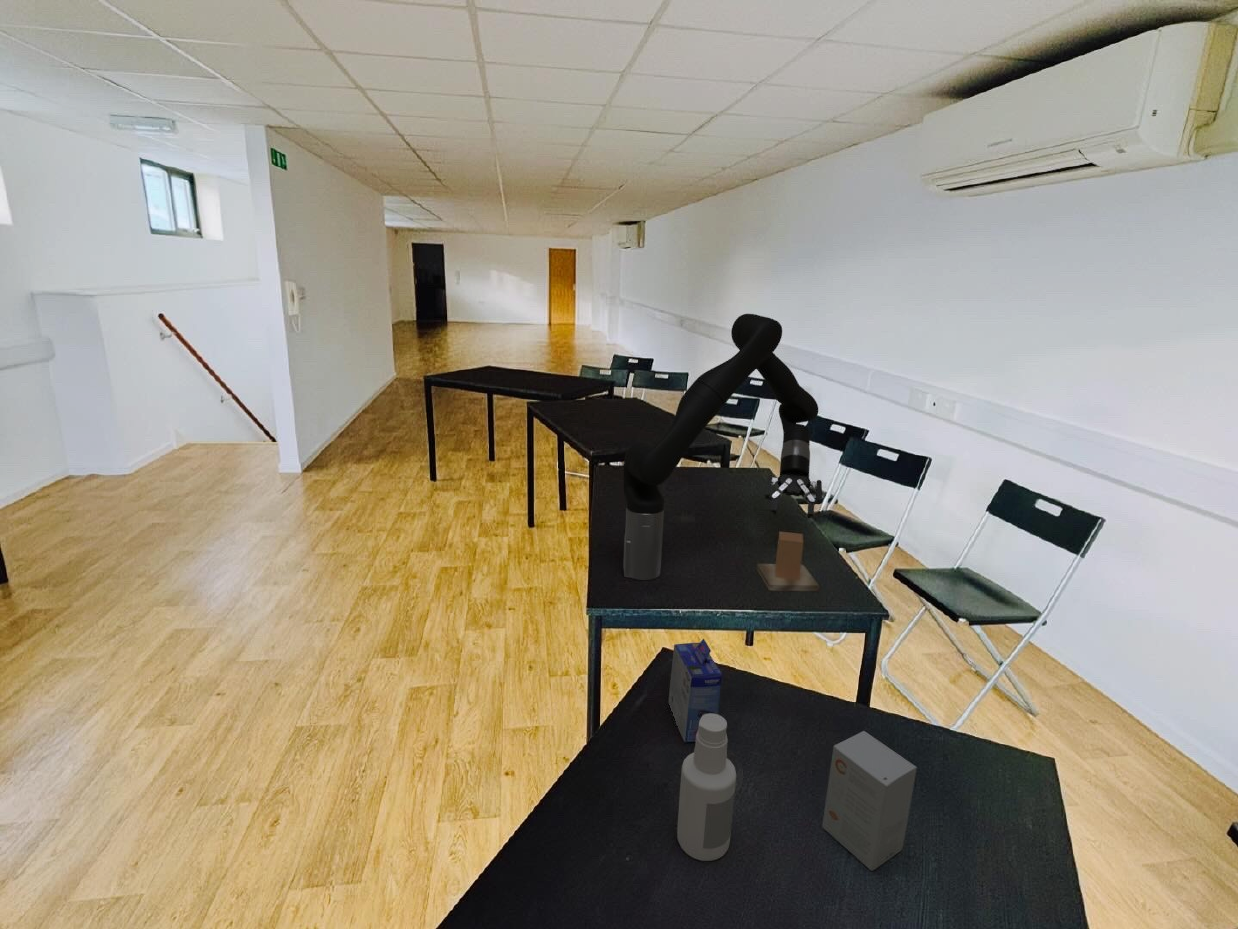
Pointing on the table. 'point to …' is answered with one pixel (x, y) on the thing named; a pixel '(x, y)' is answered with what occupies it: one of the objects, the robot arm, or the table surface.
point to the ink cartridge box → (693, 687)
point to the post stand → (787, 580)
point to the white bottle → (707, 793)
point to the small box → (868, 799)
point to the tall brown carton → (789, 555)
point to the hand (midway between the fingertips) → (791, 515)
